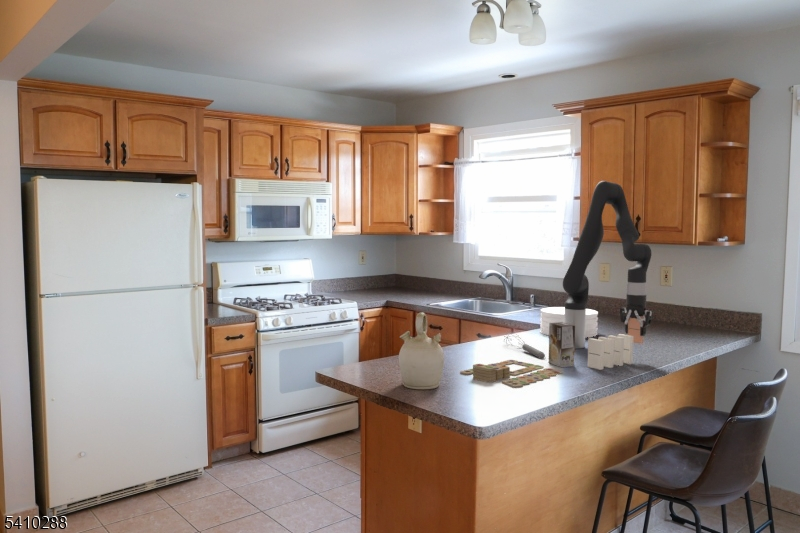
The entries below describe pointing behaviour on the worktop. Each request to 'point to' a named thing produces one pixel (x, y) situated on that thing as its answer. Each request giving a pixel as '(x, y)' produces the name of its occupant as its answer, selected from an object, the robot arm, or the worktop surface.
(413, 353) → the jug
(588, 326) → the plate stack
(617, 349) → the ivory tile
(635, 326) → the rust tile
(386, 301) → the worktop surface
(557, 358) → the coffee box
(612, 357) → the ivory tile
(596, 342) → the ivory tile
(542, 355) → the kitchen whisk
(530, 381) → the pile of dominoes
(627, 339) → the ivory tile
